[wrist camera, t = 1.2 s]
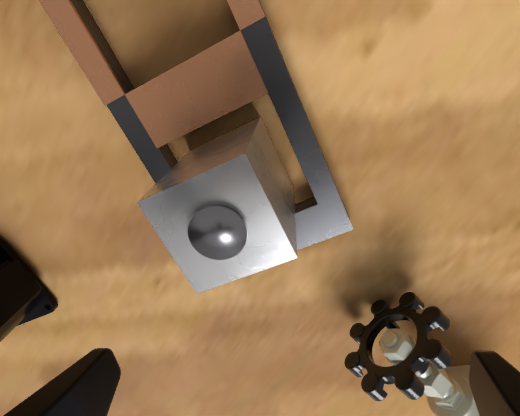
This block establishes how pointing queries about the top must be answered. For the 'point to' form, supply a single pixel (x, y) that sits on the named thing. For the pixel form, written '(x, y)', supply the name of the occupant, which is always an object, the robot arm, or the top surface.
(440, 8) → the top surface
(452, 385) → the valve
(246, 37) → the rail
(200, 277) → the knobbed block
